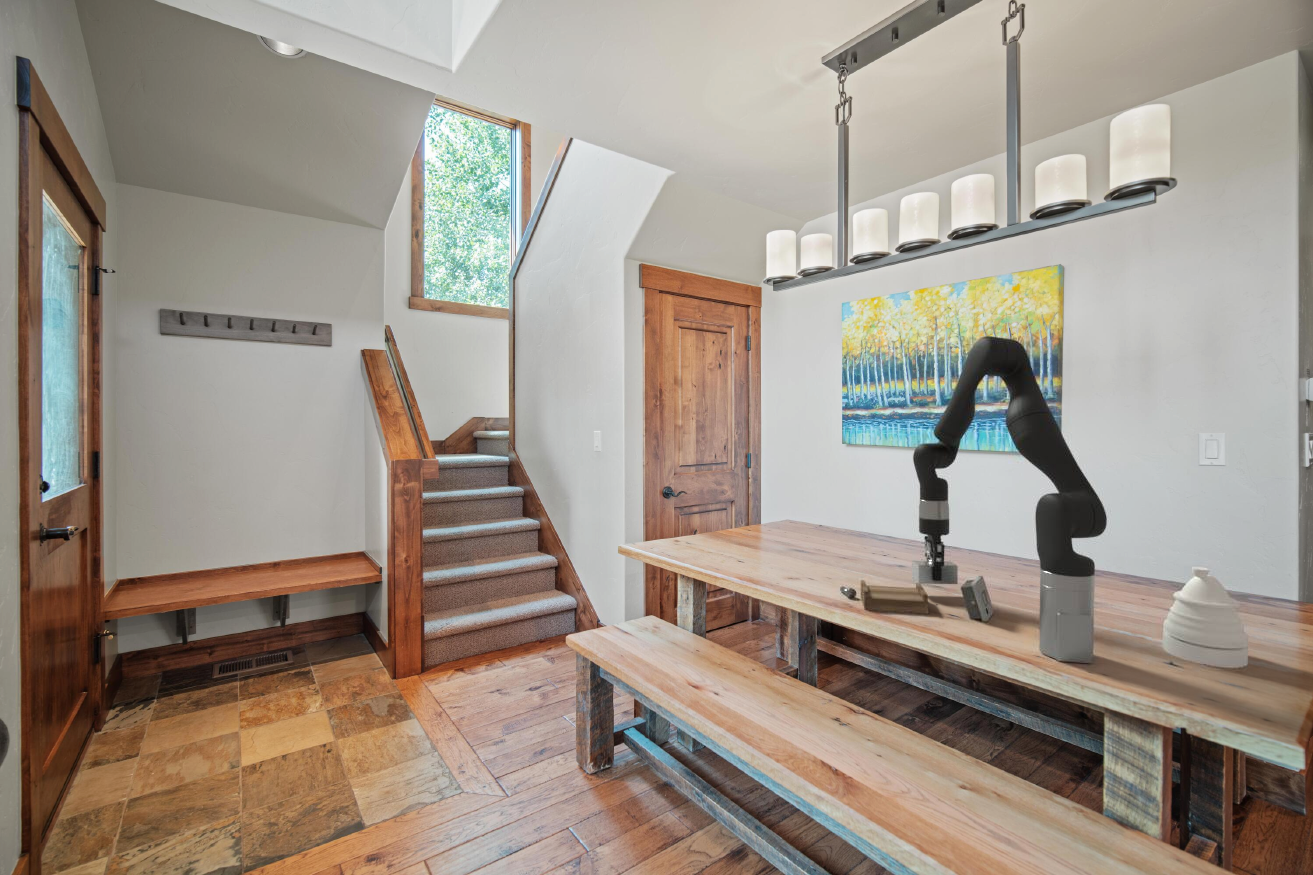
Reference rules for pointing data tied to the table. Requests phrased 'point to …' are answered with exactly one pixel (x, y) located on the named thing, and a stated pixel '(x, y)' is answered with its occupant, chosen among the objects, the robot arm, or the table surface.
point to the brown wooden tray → (894, 598)
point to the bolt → (848, 592)
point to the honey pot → (1205, 624)
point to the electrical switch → (977, 599)
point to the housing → (924, 572)
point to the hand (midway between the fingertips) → (934, 577)
